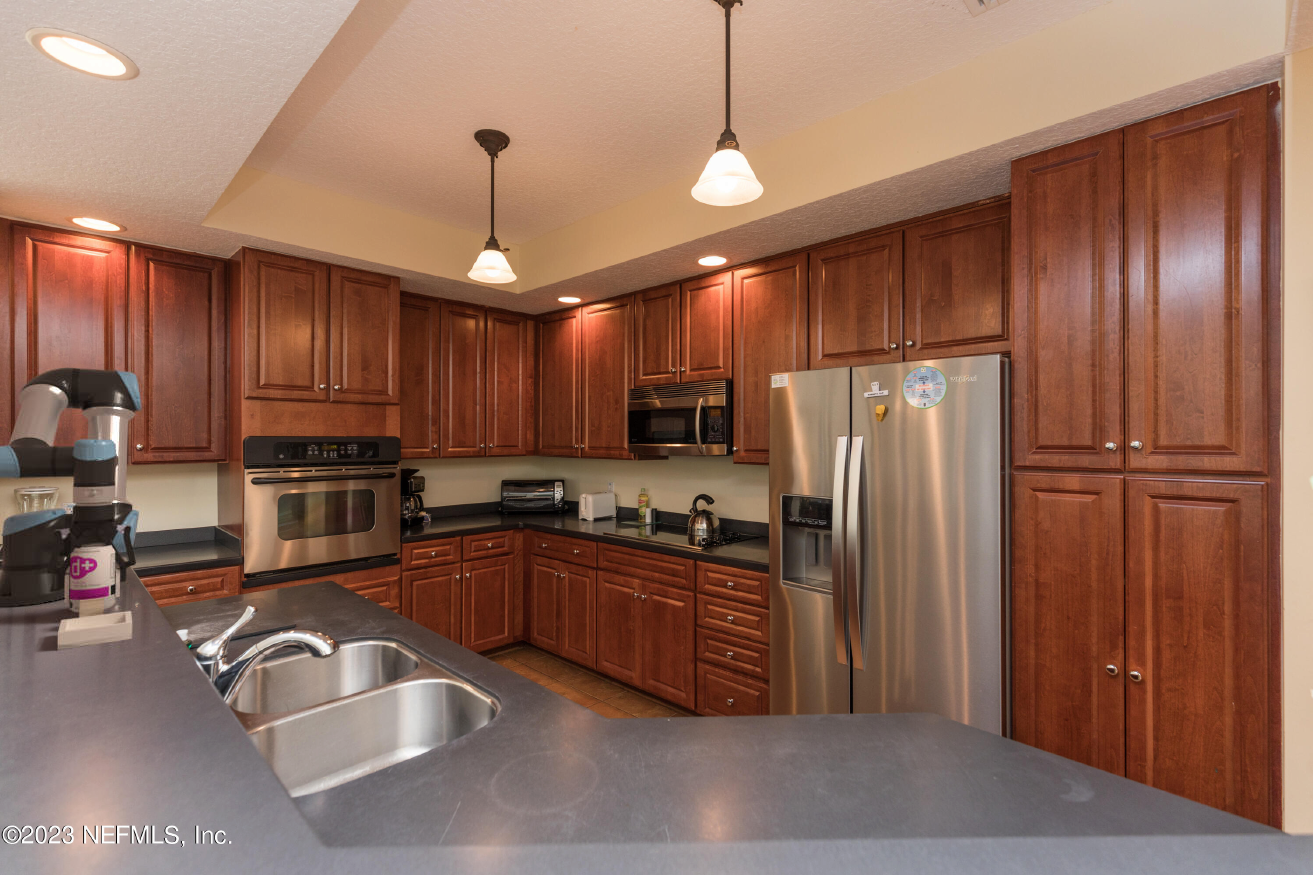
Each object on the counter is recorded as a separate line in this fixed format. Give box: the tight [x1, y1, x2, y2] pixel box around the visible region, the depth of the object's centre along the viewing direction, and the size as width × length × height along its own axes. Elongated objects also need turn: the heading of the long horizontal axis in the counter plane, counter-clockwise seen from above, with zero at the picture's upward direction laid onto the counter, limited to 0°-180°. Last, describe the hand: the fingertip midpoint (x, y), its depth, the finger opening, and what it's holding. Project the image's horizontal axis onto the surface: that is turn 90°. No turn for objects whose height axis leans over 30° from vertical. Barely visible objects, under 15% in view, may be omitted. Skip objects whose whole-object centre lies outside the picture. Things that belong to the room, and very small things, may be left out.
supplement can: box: [68, 543, 117, 613], centre depth 148 cm, size 8×8×15 cm
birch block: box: [78, 598, 105, 618], centre depth 141 cm, size 4×4×6 cm
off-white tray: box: [57, 610, 133, 651], centre depth 134 cm, size 12×12×4 cm
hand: (92, 598), depth 148 cm, fingers closed on supplement can, 8 cm apart
